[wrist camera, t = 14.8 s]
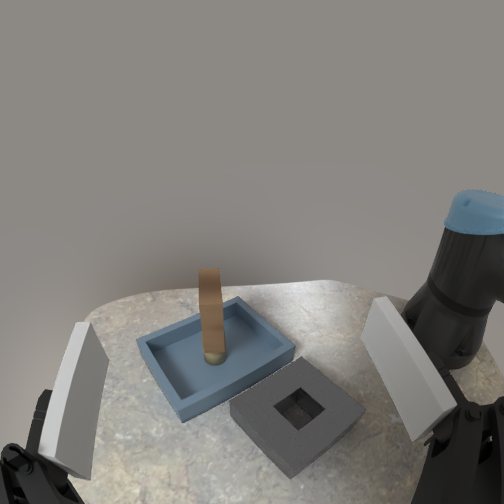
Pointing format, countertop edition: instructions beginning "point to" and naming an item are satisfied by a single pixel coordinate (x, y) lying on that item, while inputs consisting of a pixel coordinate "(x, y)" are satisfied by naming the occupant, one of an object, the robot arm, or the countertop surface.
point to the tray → (207, 376)
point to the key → (212, 317)
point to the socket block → (281, 430)
